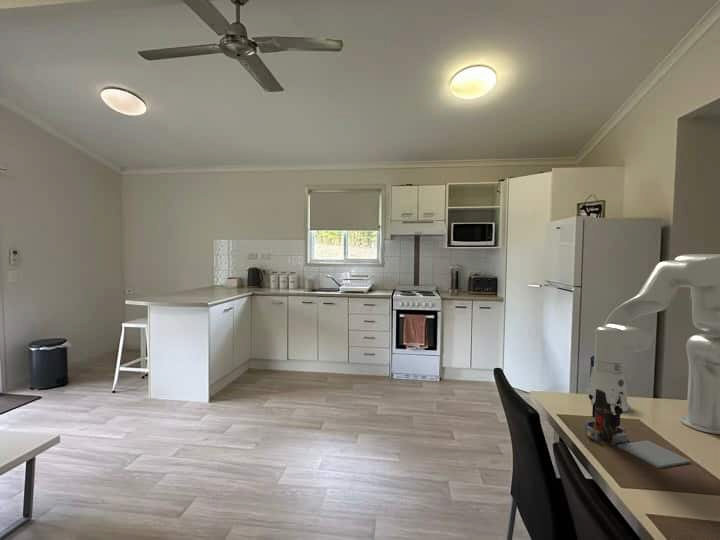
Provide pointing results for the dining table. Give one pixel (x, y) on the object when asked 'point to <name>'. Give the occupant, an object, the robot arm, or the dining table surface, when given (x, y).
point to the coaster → (653, 454)
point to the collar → (595, 434)
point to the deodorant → (603, 417)
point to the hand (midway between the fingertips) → (605, 421)
